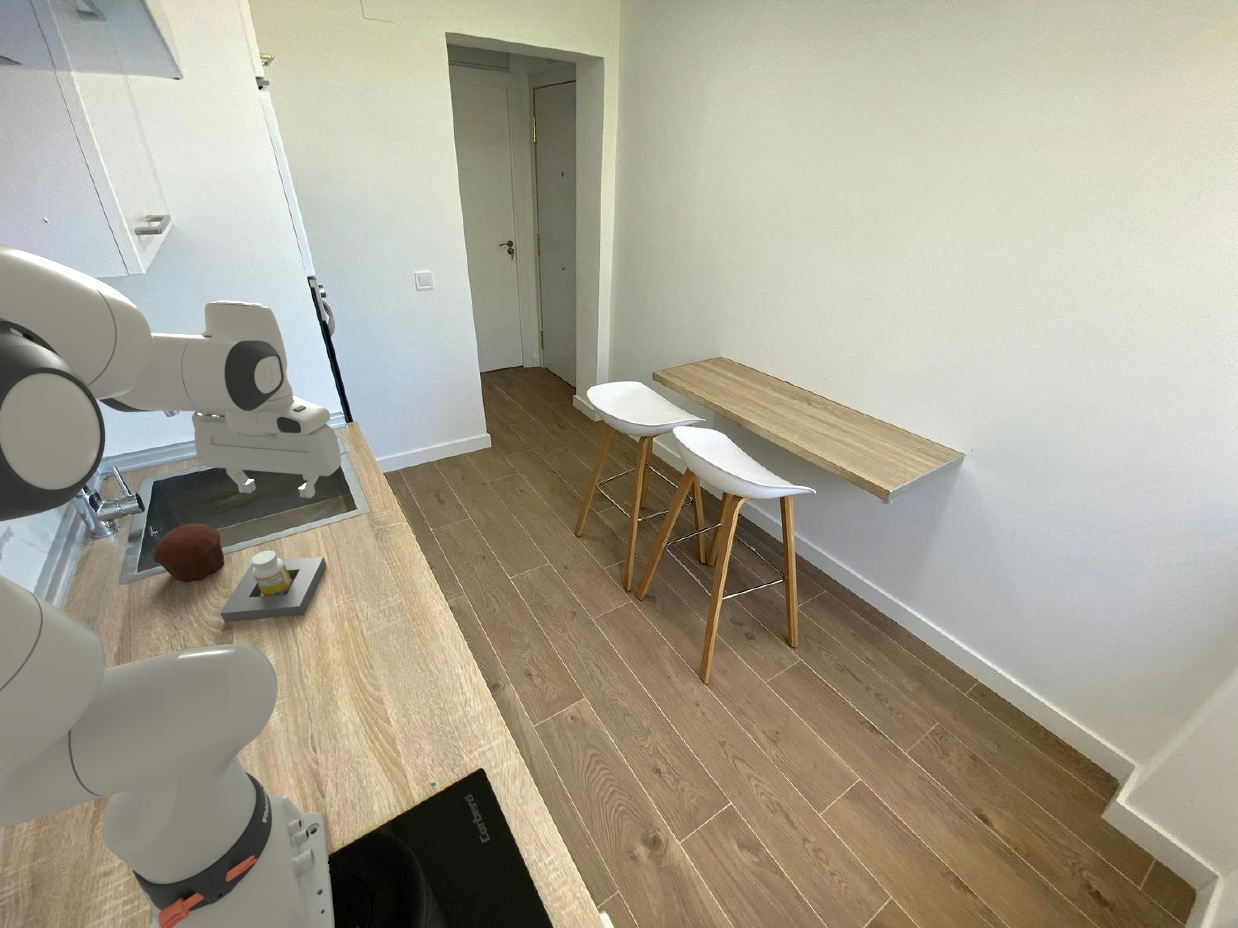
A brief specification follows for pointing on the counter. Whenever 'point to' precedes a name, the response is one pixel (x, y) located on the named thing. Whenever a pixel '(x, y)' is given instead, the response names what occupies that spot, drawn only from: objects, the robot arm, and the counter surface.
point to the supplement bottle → (271, 574)
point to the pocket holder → (291, 604)
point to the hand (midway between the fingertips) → (278, 493)
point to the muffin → (190, 552)
